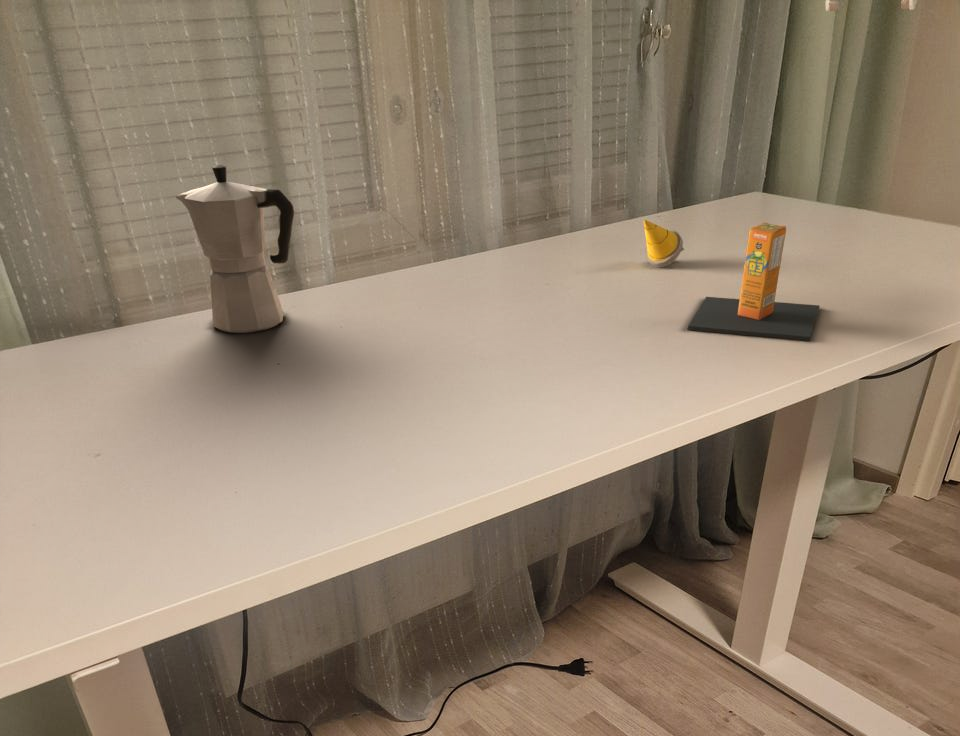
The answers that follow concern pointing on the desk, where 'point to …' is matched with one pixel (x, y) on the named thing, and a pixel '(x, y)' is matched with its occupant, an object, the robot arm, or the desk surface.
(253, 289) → the coffeepot
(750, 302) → the supplement box
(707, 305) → the mat
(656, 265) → the yellow cone on disc
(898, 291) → the desk surface
